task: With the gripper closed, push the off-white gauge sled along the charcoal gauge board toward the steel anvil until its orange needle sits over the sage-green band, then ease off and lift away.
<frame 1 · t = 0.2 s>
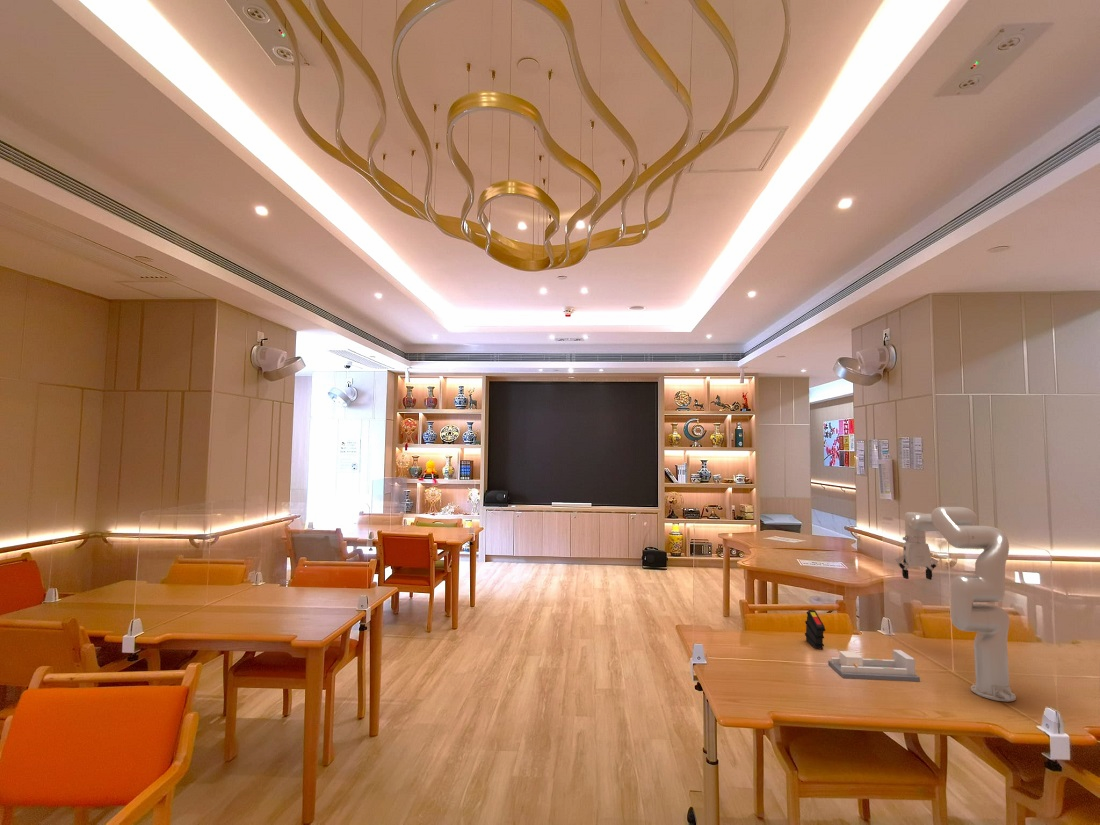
hand: (917, 578, 244), 31 cm above the table, tool pointing down, fingers open, 9 cm apart
gauge board: (872, 672, 216), on the table
black ridged block: (815, 646, 246), on the table
gauge sled: (850, 660, 217), point 4 cm above the table, slide at 0.0 cm
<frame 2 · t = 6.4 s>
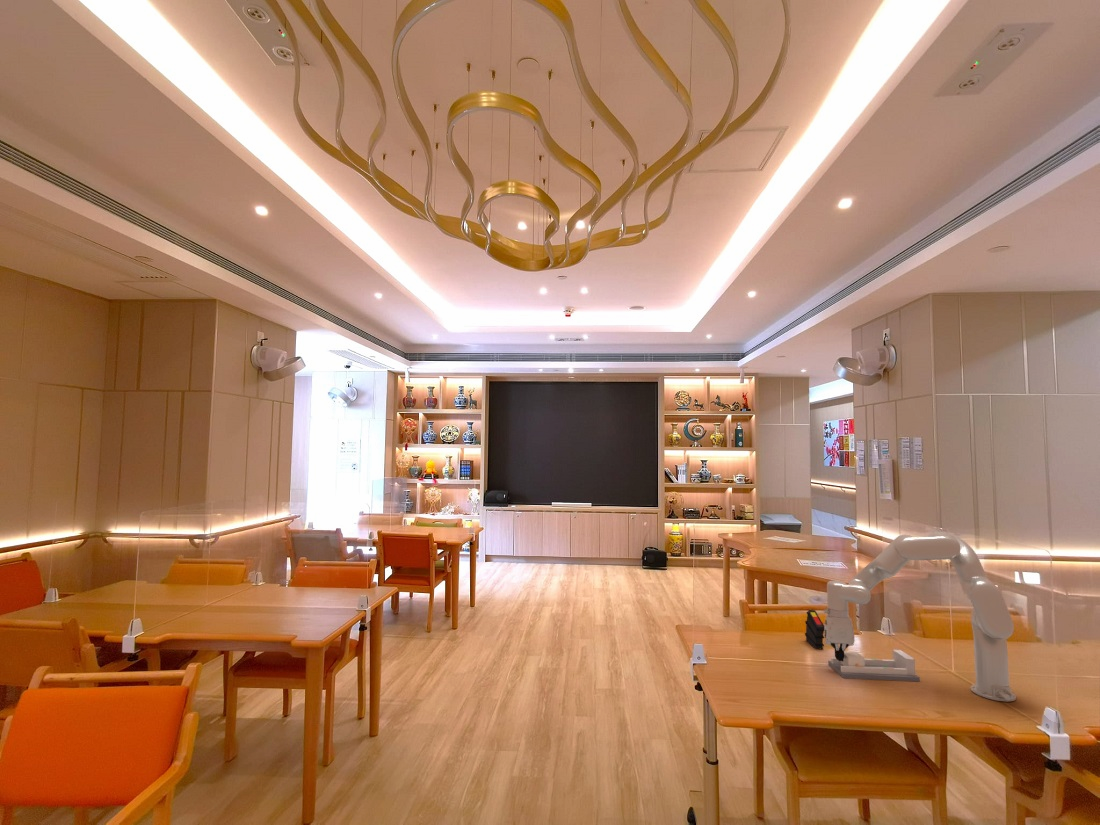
hand: (839, 659, 218), 4 cm above the table, tool pointing down, fingers closed
gauge sled: (852, 660, 217), point 4 cm above the table, slide at 0.7 cm, touching gripper
everything else where it was.
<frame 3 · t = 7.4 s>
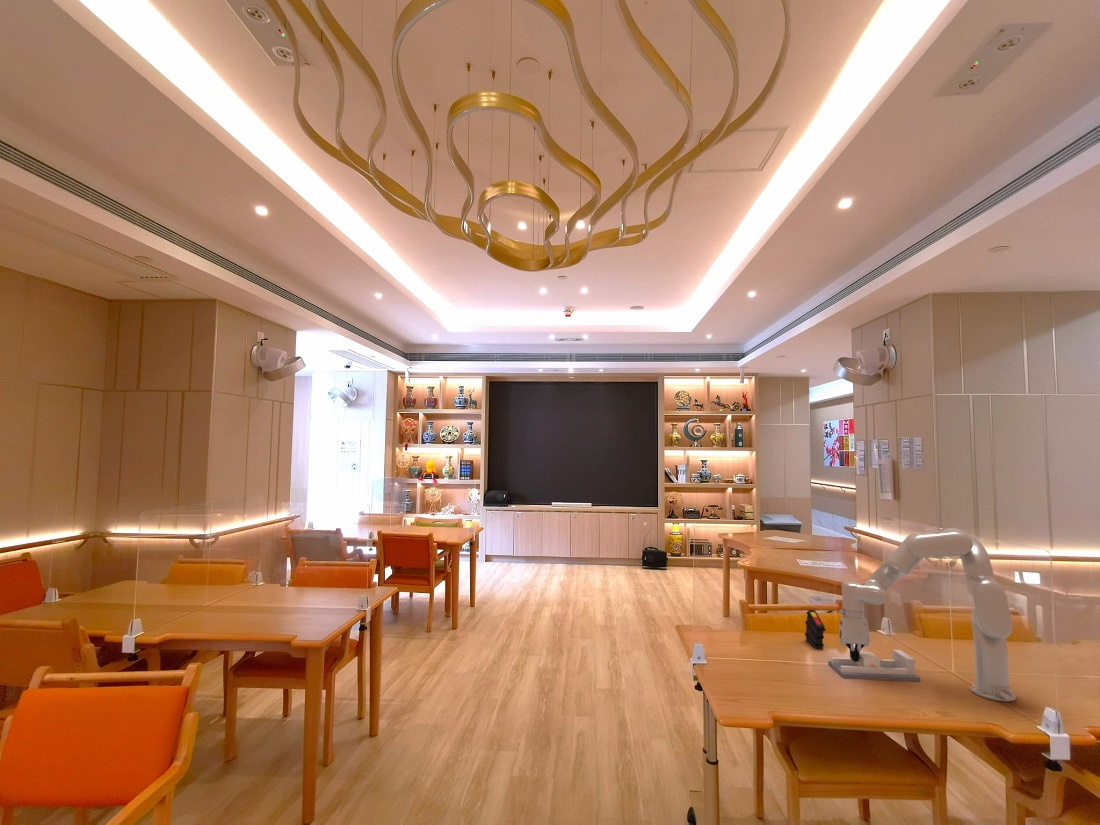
hand: (854, 660, 217), 4 cm above the table, tool pointing down, fingers closed
gauge sled: (868, 661, 217), point 4 cm above the table, slide at 6.5 cm, touching gripper
everything else where it was.
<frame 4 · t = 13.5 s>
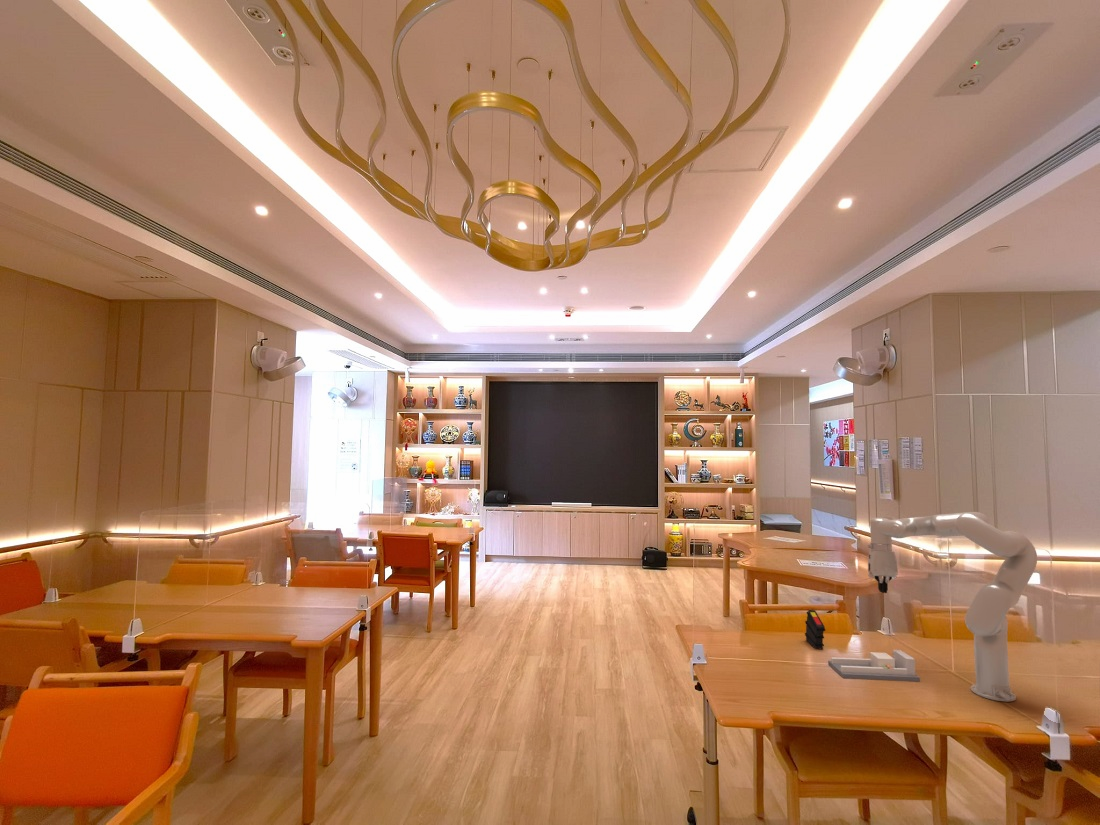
hand: (883, 592, 227), 29 cm above the table, tool pointing down, fingers closed
gauge sled: (882, 662, 216), point 4 cm above the table, slide at 11.9 cm
everything else where it was.
at the end: gauge sled slide at 11.9 cm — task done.
